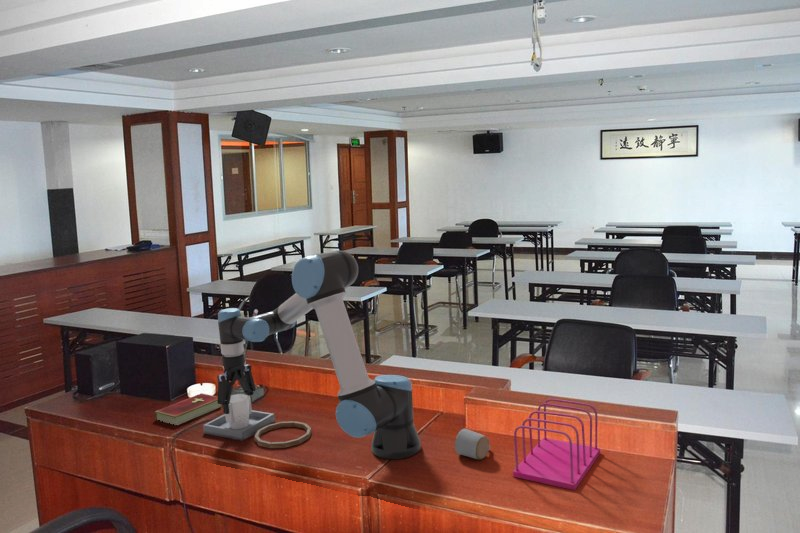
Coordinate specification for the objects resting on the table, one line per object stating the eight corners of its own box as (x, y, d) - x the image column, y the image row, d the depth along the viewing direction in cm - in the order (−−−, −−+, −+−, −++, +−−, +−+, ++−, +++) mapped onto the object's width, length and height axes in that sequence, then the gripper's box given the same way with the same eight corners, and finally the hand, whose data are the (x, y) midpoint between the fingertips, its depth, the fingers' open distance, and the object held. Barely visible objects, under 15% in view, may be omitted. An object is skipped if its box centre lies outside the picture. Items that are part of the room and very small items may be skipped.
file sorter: (512, 477, 182) (511, 423, 180) (543, 443, 203) (542, 394, 201) (574, 491, 173) (574, 434, 171) (600, 453, 194) (600, 402, 192)
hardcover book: (155, 421, 239) (154, 410, 239) (201, 402, 257) (200, 392, 256) (176, 427, 233) (175, 415, 232) (222, 407, 250) (221, 397, 249)
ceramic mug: (478, 464, 191) (477, 439, 190) (454, 457, 196) (453, 433, 195) (497, 451, 199) (496, 427, 198) (474, 445, 204) (473, 421, 203)
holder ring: (305, 446, 209) (305, 442, 209) (249, 449, 210) (249, 444, 210) (314, 424, 227) (314, 420, 227) (262, 426, 228) (262, 422, 228)
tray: (274, 421, 232) (274, 413, 231) (242, 440, 217) (241, 432, 216) (237, 415, 239) (237, 407, 239) (203, 433, 225) (203, 425, 224)
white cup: (227, 423, 230) (224, 396, 229) (250, 419, 233) (247, 392, 231) (228, 431, 223) (225, 403, 221) (252, 427, 225) (249, 399, 224)
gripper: (247, 344, 235) (252, 405, 238) (201, 361, 217) (208, 426, 221) (262, 346, 231) (268, 408, 234) (217, 363, 213) (224, 430, 217)
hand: (239, 417), depth 227 cm, fingers open, 8 cm apart
